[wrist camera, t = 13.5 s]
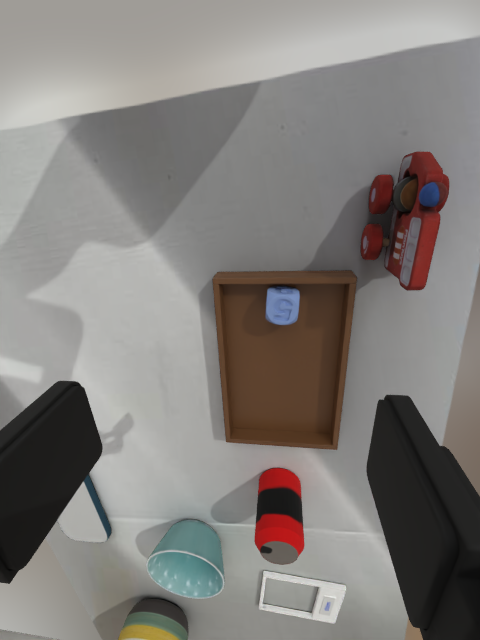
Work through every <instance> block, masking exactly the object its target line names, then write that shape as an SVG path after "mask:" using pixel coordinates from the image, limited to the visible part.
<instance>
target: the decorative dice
mask: <svg viewBox="0 0 480 640" xmlns="http://www.w3.org/2000/svg"><path fill="white" fill-rule="evenodd" d="M299 298H300V294H299V291H298V289H296V288H293V287H290V286H273V287H270V288H269V289H268V290H267V301H266V319H267V320H268V321H269V322H271V323H273V324H277V325H289V324H293V323H294V322H296V321H297V319H298V312H299Z"/></svg>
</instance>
